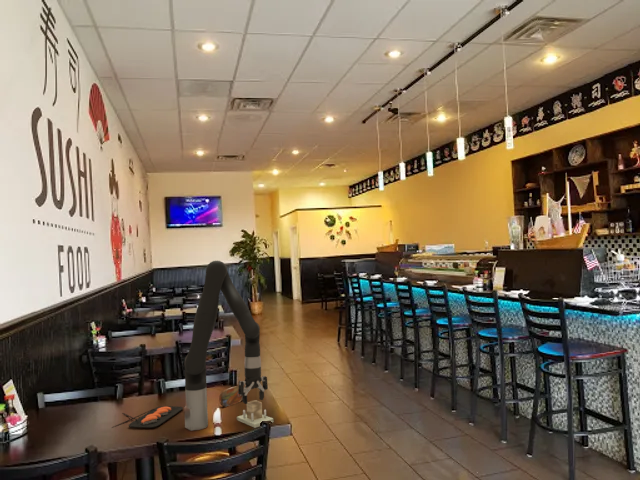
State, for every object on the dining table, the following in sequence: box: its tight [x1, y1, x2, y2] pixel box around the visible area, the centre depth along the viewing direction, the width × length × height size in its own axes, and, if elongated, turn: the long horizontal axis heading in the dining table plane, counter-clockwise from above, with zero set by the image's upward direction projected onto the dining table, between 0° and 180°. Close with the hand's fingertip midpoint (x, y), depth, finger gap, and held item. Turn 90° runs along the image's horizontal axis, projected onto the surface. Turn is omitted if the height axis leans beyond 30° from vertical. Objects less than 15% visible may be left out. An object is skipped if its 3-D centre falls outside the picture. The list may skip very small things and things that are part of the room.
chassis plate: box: [236, 409, 274, 429], centre depth 228 cm, size 10×15×5 cm, turn 40°
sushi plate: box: [111, 405, 184, 429], centre depth 239 cm, size 29×30×4 cm
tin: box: [218, 385, 243, 408], centre depth 256 cm, size 15×3×8 cm, turn 143°
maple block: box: [246, 399, 263, 420], centre depth 228 cm, size 5×5×7 cm
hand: (253, 401), depth 228 cm, fingers open, 8 cm apart
